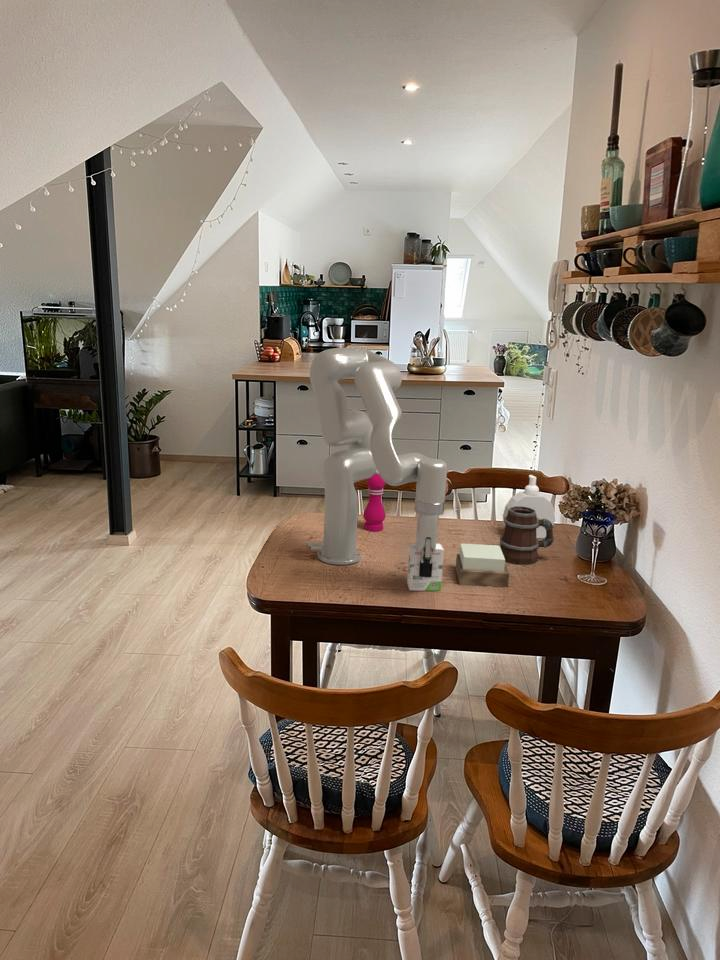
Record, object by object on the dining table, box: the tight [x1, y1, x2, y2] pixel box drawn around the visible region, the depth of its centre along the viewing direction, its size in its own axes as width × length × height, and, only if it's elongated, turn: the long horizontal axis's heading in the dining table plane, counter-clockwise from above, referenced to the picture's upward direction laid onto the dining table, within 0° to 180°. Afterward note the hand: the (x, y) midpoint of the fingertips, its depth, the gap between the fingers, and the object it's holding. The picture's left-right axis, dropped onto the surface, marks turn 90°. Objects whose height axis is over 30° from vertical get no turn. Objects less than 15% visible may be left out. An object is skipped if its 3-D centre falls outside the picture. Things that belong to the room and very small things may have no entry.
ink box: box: [406, 542, 445, 592], centre depth 194 cm, size 9×5×12 cm, turn 94°
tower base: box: [455, 553, 510, 589], centre depth 204 cm, size 13×13×4 cm
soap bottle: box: [502, 474, 556, 539], centre depth 238 cm, size 16×5×20 cm, turn 97°
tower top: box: [459, 543, 506, 572], centre depth 203 cm, size 11×11×4 cm
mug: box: [499, 506, 555, 565], centre depth 218 cm, size 16×12×15 cm
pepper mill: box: [362, 470, 386, 532], centre depth 238 cm, size 7×7×20 cm
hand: (424, 571), depth 194 cm, fingers closed on ink box, 5 cm apart
